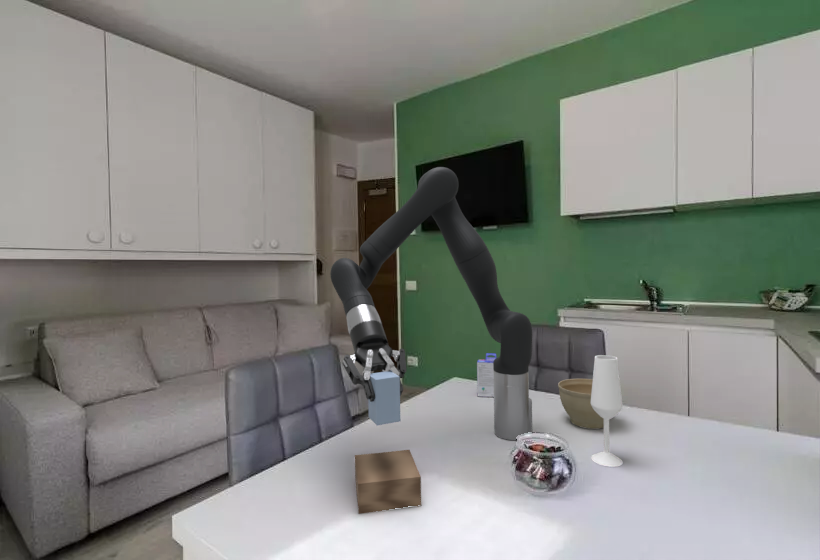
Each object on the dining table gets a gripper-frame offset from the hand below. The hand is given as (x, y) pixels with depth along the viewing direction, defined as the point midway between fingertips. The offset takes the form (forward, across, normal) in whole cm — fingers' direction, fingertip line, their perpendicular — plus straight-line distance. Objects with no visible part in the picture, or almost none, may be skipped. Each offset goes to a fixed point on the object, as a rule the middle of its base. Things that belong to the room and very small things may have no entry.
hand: (386, 397), depth 83 cm
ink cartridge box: (-16, +56, +45) cm, 74 cm away
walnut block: (+13, 0, +15) cm, 20 cm away
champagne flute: (+20, +51, +8) cm, 56 cm away
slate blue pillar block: (+2, 0, +4) cm, 5 cm away
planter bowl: (+8, +65, +21) cm, 69 cm away
